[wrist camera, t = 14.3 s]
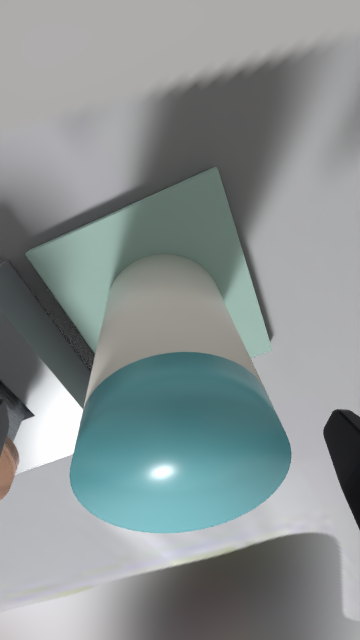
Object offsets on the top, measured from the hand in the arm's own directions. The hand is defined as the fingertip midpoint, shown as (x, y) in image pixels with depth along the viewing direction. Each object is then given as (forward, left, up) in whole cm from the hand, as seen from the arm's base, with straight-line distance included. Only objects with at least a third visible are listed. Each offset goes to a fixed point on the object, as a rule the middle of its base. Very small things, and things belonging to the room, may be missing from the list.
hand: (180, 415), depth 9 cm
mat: (0, 0, -7) cm, 7 cm away
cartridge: (0, 0, -6) cm, 6 cm away
